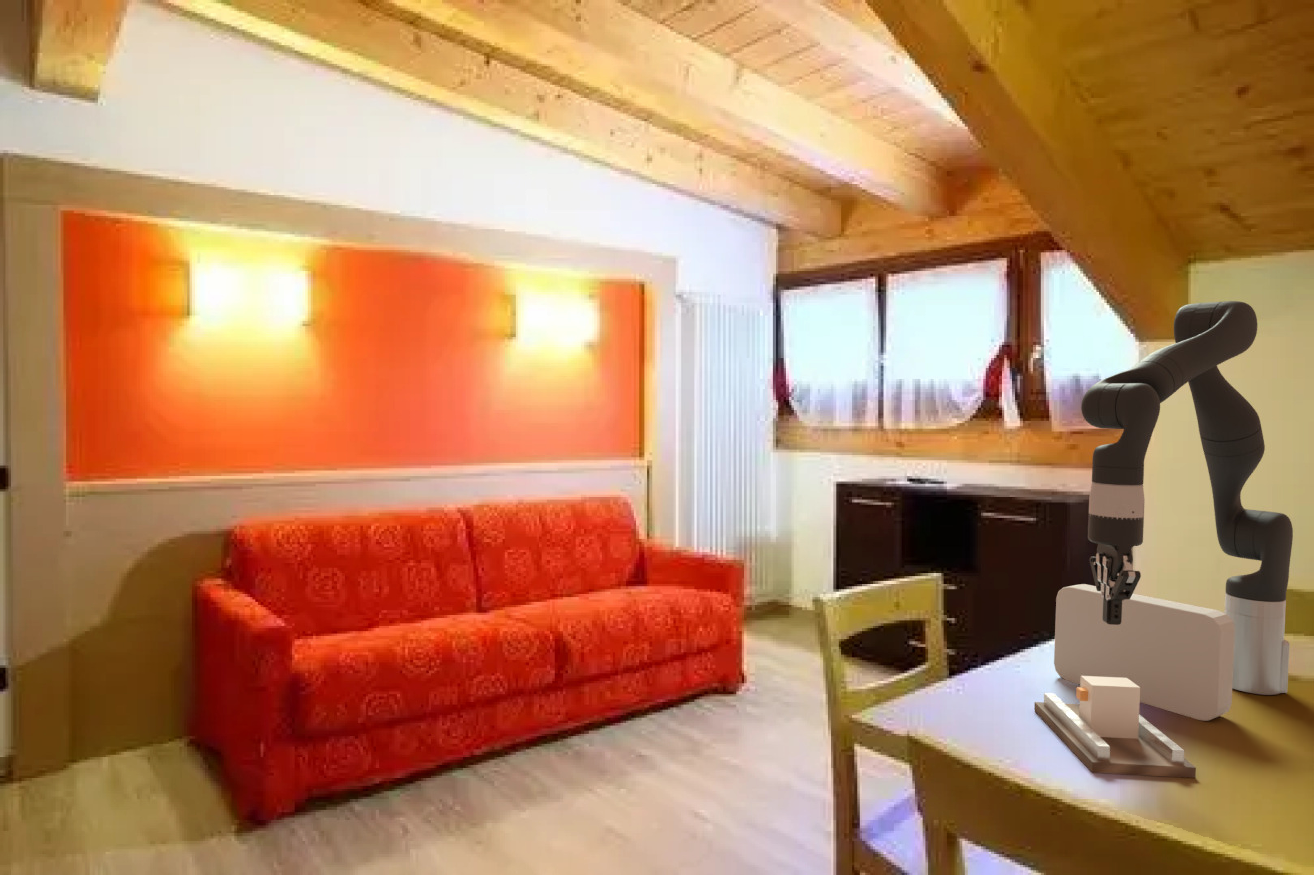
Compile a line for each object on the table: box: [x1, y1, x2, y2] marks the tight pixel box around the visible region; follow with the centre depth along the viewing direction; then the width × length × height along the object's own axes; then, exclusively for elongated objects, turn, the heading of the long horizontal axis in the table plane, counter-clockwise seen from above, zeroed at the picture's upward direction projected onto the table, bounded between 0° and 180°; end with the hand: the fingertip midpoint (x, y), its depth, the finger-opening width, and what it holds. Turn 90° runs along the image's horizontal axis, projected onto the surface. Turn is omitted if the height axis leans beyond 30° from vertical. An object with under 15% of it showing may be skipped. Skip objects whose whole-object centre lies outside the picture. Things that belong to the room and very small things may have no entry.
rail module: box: [1075, 676, 1141, 739], centre depth 131 cm, size 8×4×8 cm, turn 84°
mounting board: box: [1033, 701, 1197, 779], centre depth 132 cm, size 14×24×2 cm, turn 174°
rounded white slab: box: [1053, 583, 1235, 722], centre depth 152 cm, size 29×8×18 cm, turn 33°
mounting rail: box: [1043, 692, 1185, 764], centre depth 132 cm, size 12×22×2 cm, turn 174°
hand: (1111, 623), depth 131 cm, fingers closed
